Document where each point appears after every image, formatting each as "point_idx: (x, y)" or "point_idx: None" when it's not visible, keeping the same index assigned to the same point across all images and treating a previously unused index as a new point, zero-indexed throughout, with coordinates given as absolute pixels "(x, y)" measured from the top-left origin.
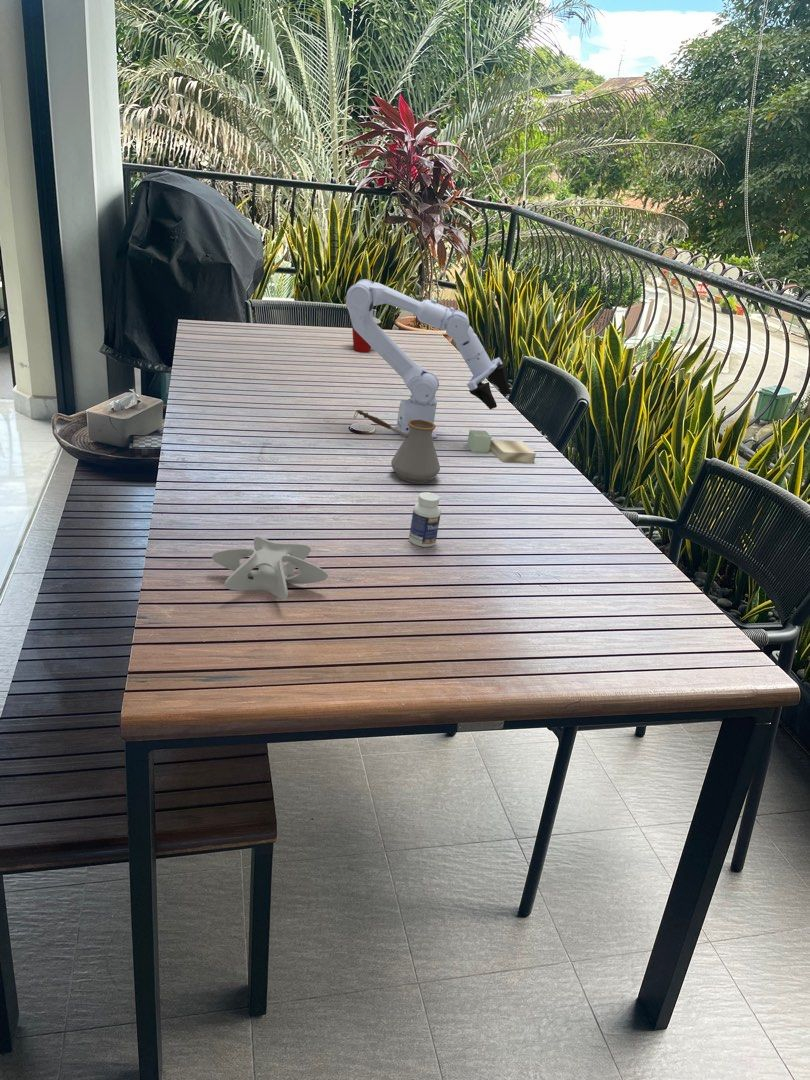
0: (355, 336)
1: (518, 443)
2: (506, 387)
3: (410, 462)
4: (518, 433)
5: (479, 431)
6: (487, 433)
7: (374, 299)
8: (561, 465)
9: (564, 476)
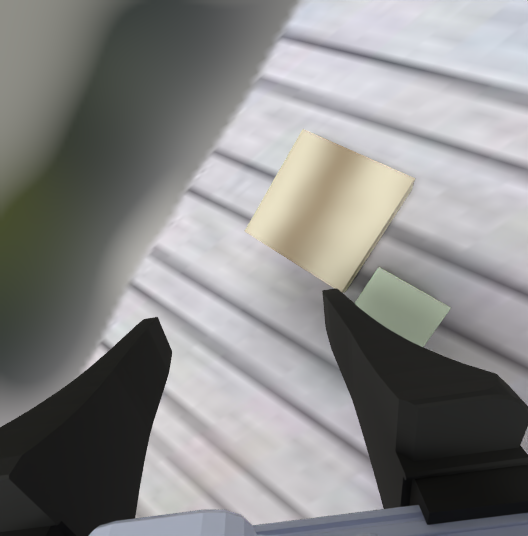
0: None
1: (276, 220)
2: (141, 346)
3: None
4: None
5: None
6: (359, 301)
7: None
8: (252, 100)
9: (320, 29)
